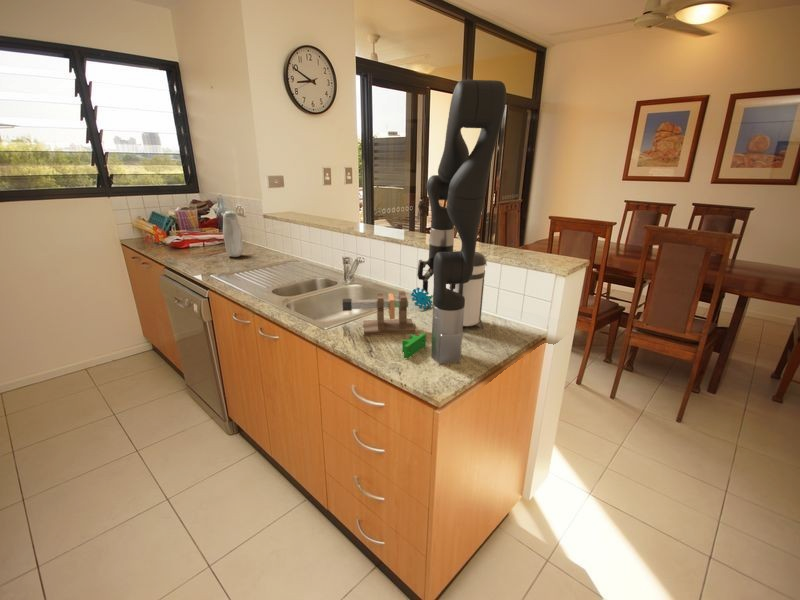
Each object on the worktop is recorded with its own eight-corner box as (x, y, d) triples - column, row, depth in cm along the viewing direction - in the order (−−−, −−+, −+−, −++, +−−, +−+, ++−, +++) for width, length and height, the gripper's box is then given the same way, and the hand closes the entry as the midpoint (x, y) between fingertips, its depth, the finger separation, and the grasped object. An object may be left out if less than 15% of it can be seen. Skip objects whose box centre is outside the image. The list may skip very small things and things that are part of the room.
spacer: (394, 318, 131) (394, 300, 128) (390, 319, 130) (390, 300, 128) (392, 311, 137) (392, 293, 135) (388, 311, 137) (388, 293, 134)
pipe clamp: (416, 343, 126) (416, 330, 124) (425, 346, 124) (426, 333, 122) (396, 356, 117) (397, 343, 115) (406, 359, 115) (407, 346, 113)
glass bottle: (245, 257, 232) (239, 211, 223) (227, 259, 228) (220, 212, 218) (243, 254, 240) (236, 209, 231) (225, 255, 236) (218, 210, 226)
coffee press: (450, 313, 150) (454, 238, 140) (489, 321, 143) (496, 243, 132) (431, 328, 136) (434, 247, 126) (472, 338, 129) (479, 253, 118)
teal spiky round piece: (417, 308, 150) (409, 287, 153) (410, 315, 154) (402, 294, 158) (438, 306, 156) (430, 286, 160) (430, 313, 160) (422, 292, 164)
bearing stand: (415, 333, 132) (416, 298, 127) (364, 336, 130) (363, 300, 125) (411, 322, 141) (411, 289, 137) (363, 324, 139) (362, 290, 135)
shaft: (408, 308, 132) (408, 299, 131) (342, 310, 129) (342, 302, 128) (407, 305, 135) (407, 296, 134) (343, 307, 132) (342, 298, 131)
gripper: (421, 245, 113) (419, 295, 119) (467, 244, 114) (463, 294, 120) (417, 239, 120) (415, 287, 126) (460, 239, 121) (457, 286, 127)
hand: (438, 290), depth 123 cm, fingers open, 8 cm apart
